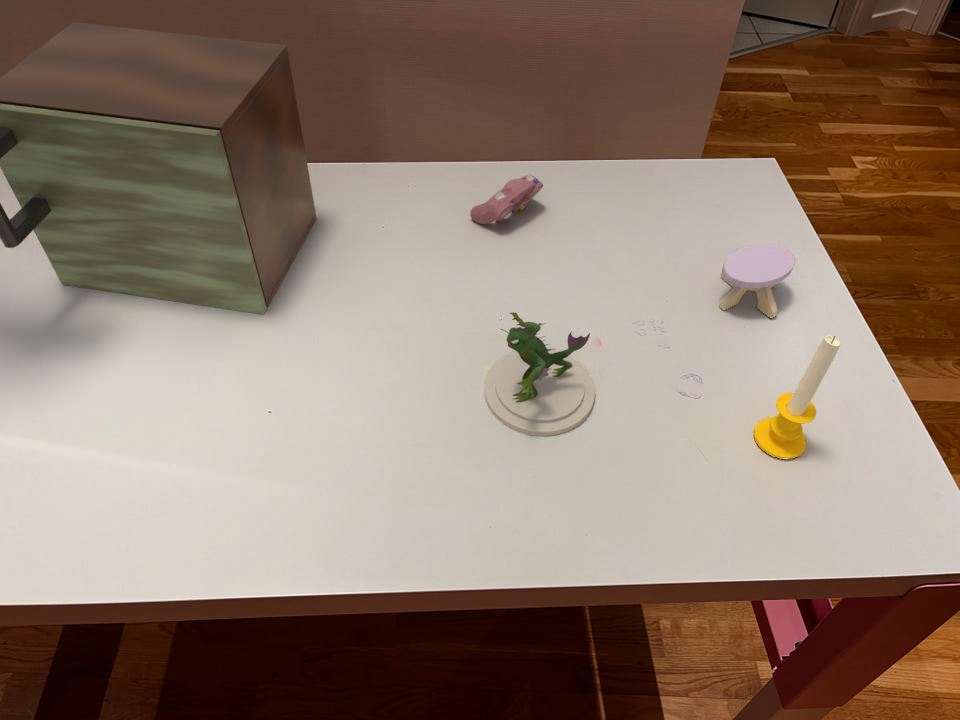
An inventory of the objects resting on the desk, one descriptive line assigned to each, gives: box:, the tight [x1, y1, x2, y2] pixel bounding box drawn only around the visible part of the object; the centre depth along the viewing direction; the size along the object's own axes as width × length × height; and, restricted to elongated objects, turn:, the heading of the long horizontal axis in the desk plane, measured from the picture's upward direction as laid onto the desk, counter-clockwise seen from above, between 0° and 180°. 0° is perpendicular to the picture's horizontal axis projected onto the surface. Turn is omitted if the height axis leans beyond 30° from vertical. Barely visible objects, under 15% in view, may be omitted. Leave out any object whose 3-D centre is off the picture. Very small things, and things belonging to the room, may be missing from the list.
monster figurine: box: [483, 311, 596, 437], centre depth 77 cm, size 12×12×10 cm
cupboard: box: [0, 22, 318, 309], centre depth 87 cm, size 18×26×24 cm
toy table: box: [718, 243, 796, 319], centre depth 90 cm, size 10×9×6 cm
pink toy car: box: [469, 173, 544, 225], centre depth 100 cm, size 10×5×7 cm, turn 137°
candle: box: [753, 334, 841, 459], centre depth 72 cm, size 5×5×16 cm
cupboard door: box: [0, 104, 268, 315], centre depth 79 cm, size 8×26×24 cm, turn 80°
